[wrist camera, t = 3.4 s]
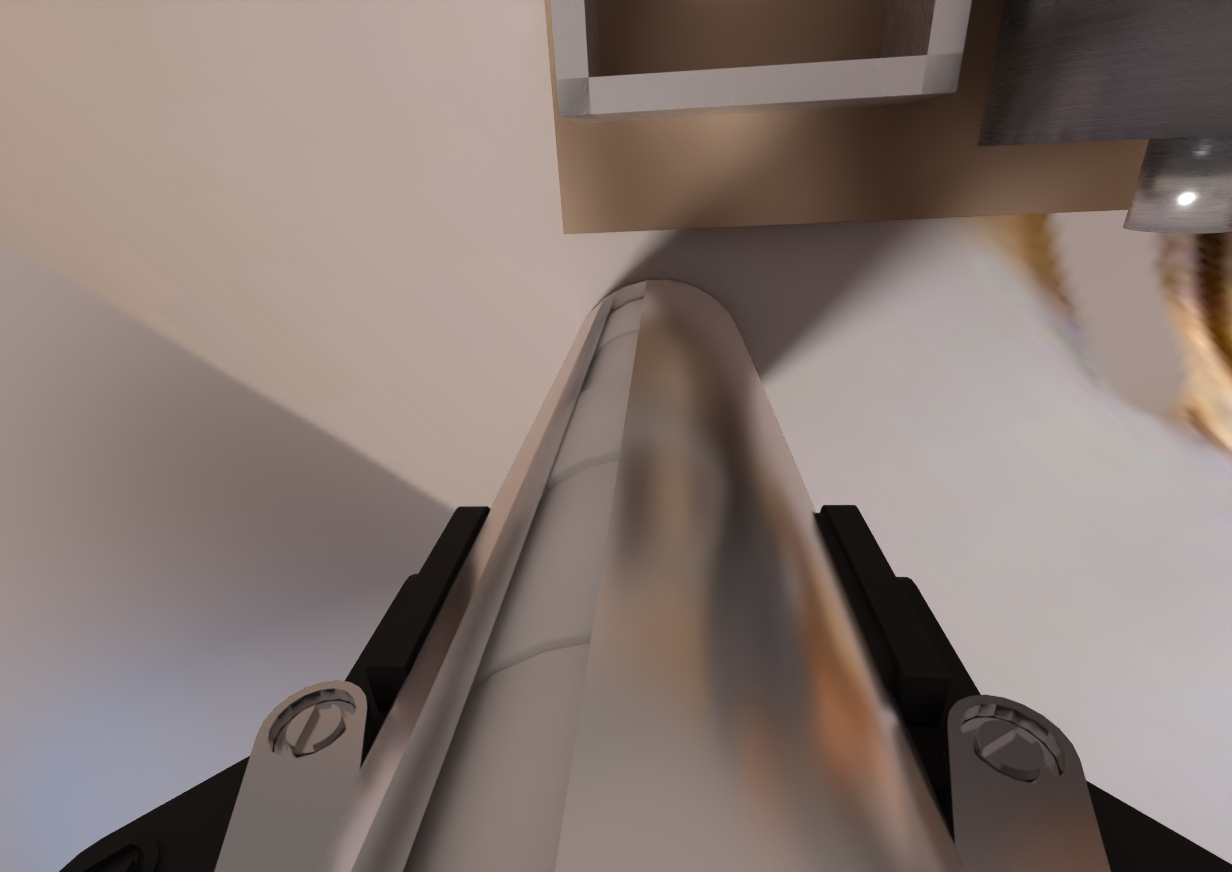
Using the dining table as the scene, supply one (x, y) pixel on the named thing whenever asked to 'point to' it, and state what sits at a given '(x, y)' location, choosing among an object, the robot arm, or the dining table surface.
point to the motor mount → (890, 111)
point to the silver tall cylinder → (646, 647)
